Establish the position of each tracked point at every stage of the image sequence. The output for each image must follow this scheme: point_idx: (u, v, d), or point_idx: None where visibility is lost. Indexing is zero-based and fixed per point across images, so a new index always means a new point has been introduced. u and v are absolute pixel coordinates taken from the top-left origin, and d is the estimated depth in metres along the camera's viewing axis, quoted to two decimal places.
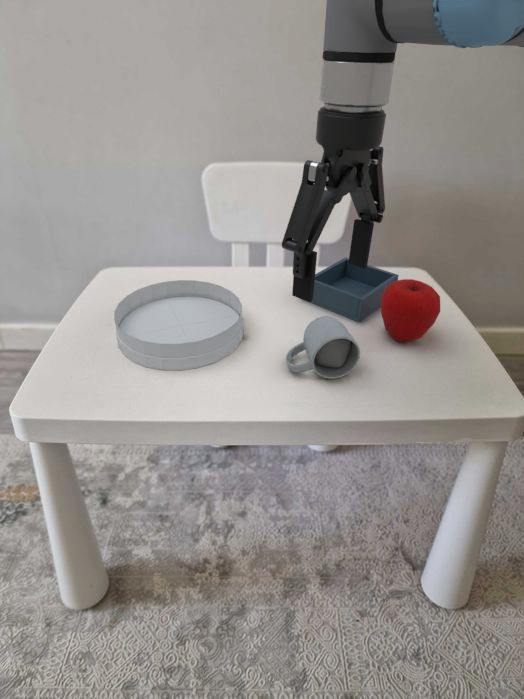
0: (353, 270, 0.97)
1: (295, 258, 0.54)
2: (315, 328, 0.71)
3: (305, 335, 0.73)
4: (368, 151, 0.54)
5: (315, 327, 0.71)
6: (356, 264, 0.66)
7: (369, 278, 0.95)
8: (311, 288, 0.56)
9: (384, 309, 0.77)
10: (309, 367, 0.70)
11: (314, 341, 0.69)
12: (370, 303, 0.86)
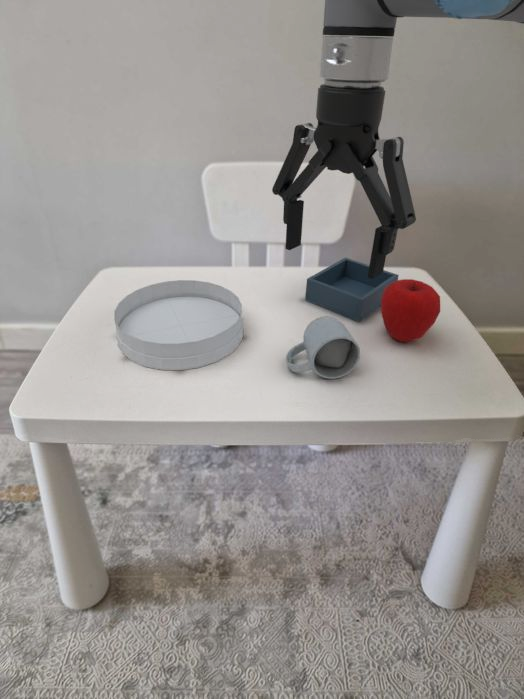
0: (353, 270, 0.97)
1: (392, 236, 0.55)
2: (315, 328, 0.71)
3: (305, 335, 0.73)
4: None
5: (316, 327, 0.71)
6: (295, 246, 0.66)
7: (369, 278, 0.95)
8: None
9: (384, 309, 0.77)
10: (309, 367, 0.70)
11: (314, 341, 0.69)
12: (370, 303, 0.86)
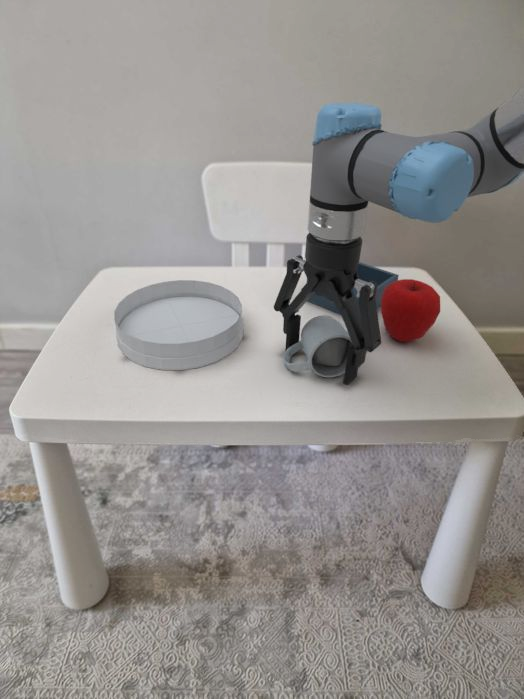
0: None
1: (362, 354, 0.66)
2: (312, 327, 0.71)
3: (302, 334, 0.73)
4: None
5: (313, 326, 0.71)
6: None
7: (369, 278, 0.95)
8: (357, 366, 0.70)
9: (384, 309, 0.77)
10: (306, 366, 0.70)
11: (312, 340, 0.69)
12: None
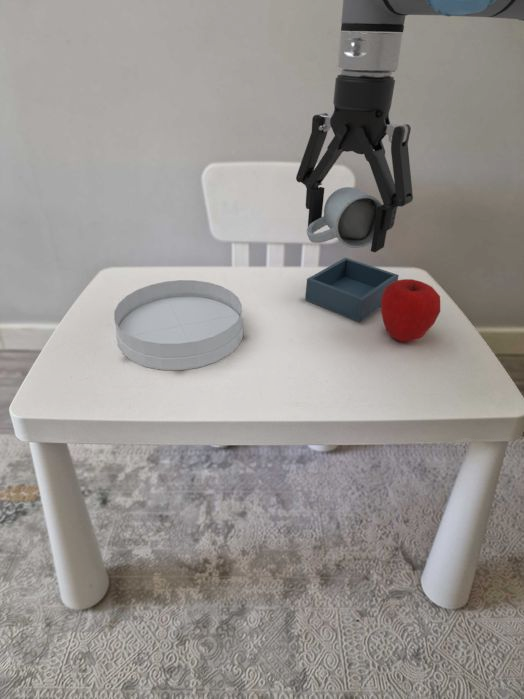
0: (353, 270, 0.97)
1: (392, 213, 0.63)
2: (337, 195, 0.68)
3: (326, 206, 0.70)
4: None
5: (338, 194, 0.68)
6: None
7: (369, 278, 0.95)
8: None
9: (384, 309, 0.77)
10: (332, 234, 0.67)
11: (338, 205, 0.66)
12: (370, 303, 0.86)
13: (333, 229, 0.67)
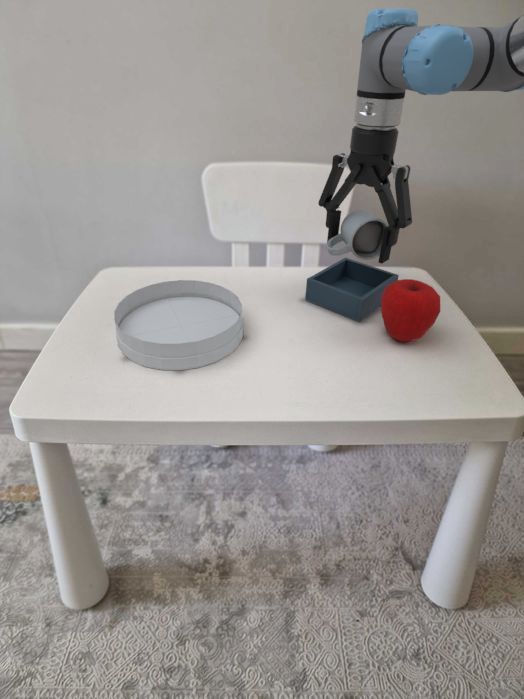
0: (353, 270, 0.97)
1: (396, 233, 0.80)
2: (351, 217, 0.85)
3: (343, 225, 0.86)
4: None
5: (352, 216, 0.85)
6: None
7: (369, 278, 0.95)
8: None
9: (384, 309, 0.77)
10: (347, 249, 0.84)
11: (352, 225, 0.83)
12: (370, 303, 0.86)
13: (348, 245, 0.83)
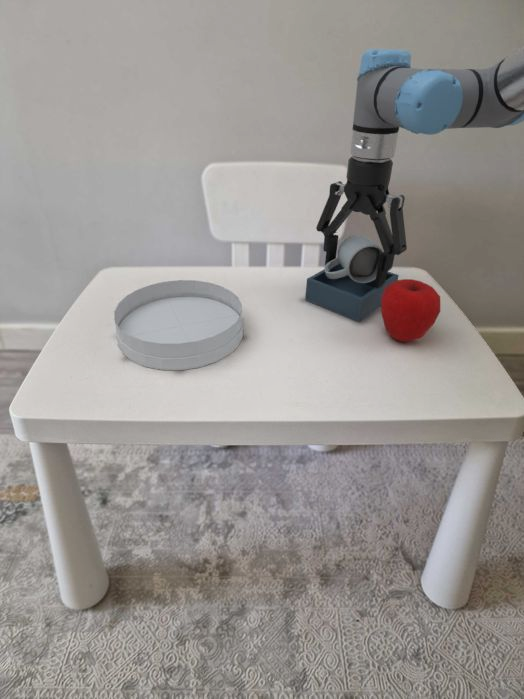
0: None
1: (391, 259, 0.82)
2: (348, 242, 0.87)
3: (340, 250, 0.89)
4: None
5: (349, 241, 0.88)
6: None
7: None
8: (385, 273, 0.87)
9: (384, 309, 0.77)
10: (344, 273, 0.86)
11: (349, 251, 0.85)
12: (370, 303, 0.86)
13: (345, 269, 0.86)
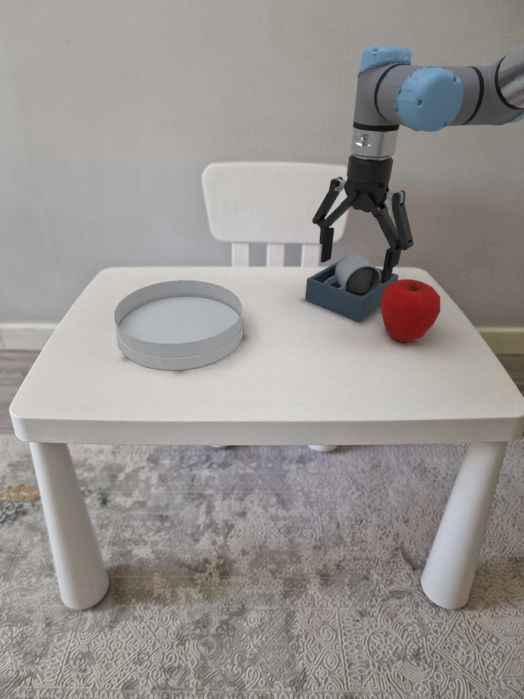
0: None
1: (397, 254, 0.81)
2: (345, 262, 0.90)
3: (337, 268, 0.92)
4: None
5: (346, 260, 0.90)
6: (327, 259, 0.92)
7: None
8: (391, 269, 0.85)
9: (384, 309, 0.77)
10: None
11: (345, 270, 0.88)
12: (370, 303, 0.86)
13: (342, 288, 0.88)
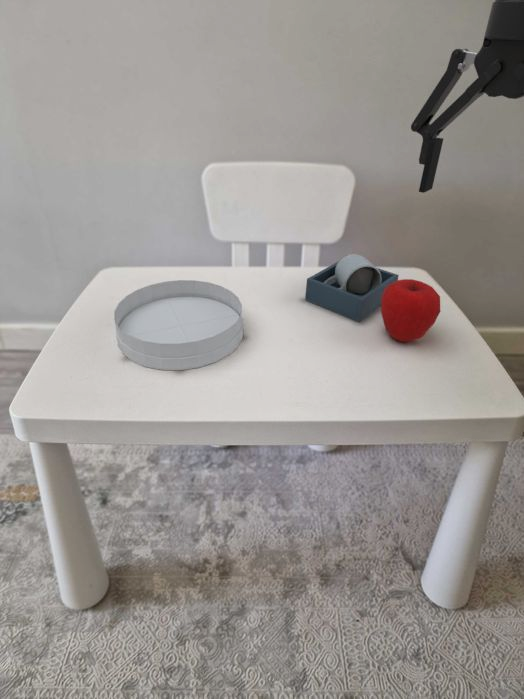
0: None
1: None
2: (345, 262, 0.90)
3: (337, 268, 0.92)
4: None
5: (346, 260, 0.90)
6: (428, 189, 0.63)
7: None
8: None
9: (384, 309, 0.77)
10: None
11: (345, 270, 0.88)
12: (370, 303, 0.86)
13: (342, 288, 0.88)
